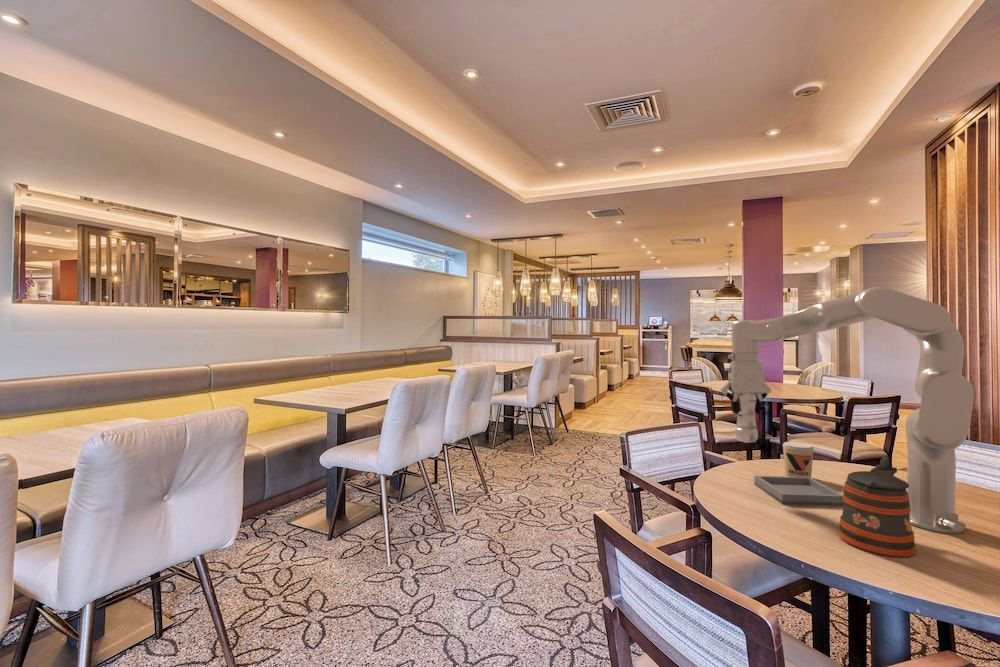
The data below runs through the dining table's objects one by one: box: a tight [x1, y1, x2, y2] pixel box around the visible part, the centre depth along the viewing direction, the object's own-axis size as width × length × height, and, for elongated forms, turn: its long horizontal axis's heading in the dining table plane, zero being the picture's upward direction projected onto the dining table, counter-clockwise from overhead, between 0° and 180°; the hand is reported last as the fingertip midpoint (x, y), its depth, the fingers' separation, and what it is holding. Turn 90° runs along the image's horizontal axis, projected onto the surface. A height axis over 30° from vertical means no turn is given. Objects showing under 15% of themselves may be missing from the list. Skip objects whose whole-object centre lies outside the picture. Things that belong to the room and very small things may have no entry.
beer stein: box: [838, 455, 916, 558], centre depth 113 cm, size 19×15×20 cm
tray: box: [753, 475, 844, 507], centre depth 145 cm, size 18×18×3 cm
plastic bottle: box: [734, 393, 759, 444], centre depth 146 cm, size 6×7×20 cm
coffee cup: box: [782, 441, 815, 478], centre depth 162 cm, size 9×9×12 cm
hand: (746, 412), depth 146 cm, fingers closed on plastic bottle, 6 cm apart
